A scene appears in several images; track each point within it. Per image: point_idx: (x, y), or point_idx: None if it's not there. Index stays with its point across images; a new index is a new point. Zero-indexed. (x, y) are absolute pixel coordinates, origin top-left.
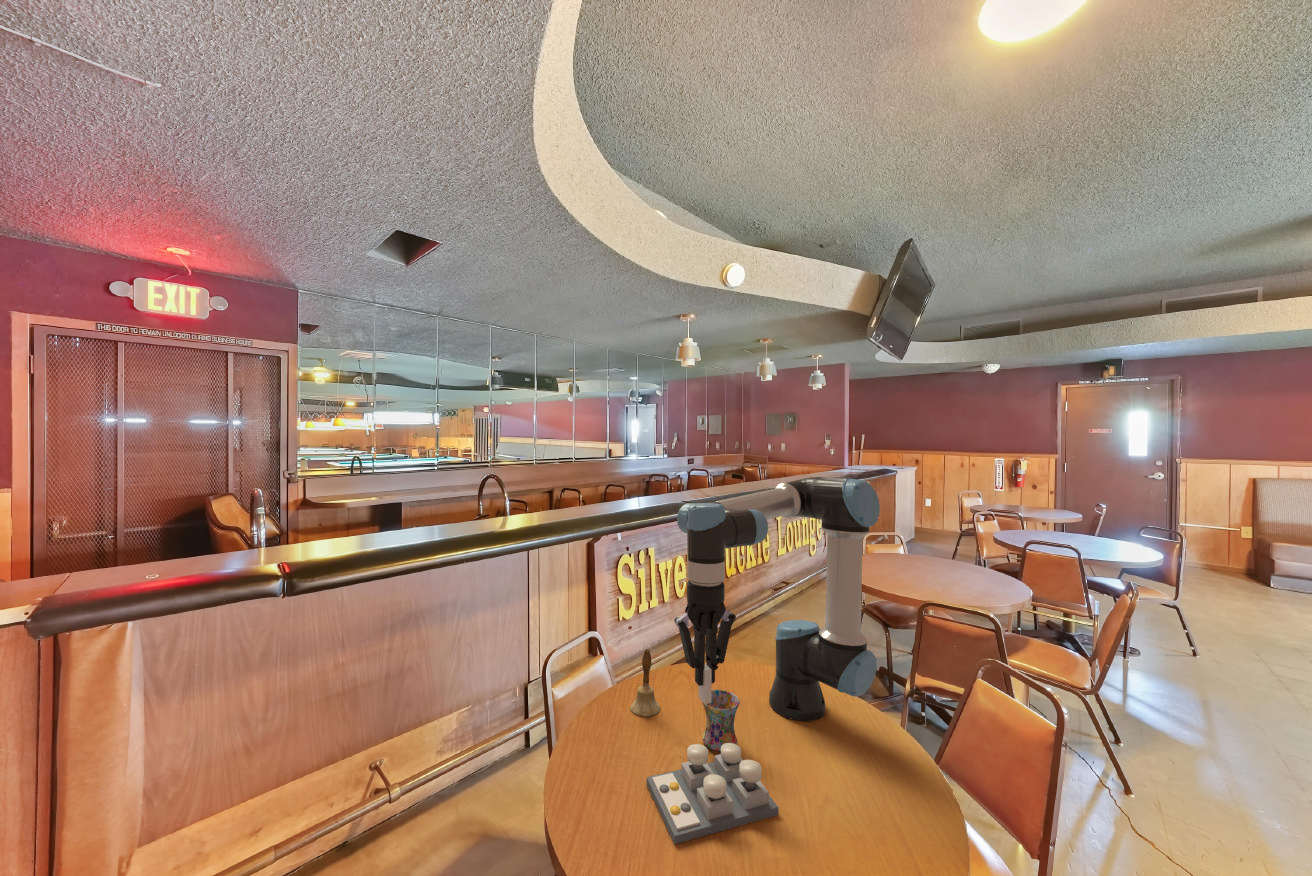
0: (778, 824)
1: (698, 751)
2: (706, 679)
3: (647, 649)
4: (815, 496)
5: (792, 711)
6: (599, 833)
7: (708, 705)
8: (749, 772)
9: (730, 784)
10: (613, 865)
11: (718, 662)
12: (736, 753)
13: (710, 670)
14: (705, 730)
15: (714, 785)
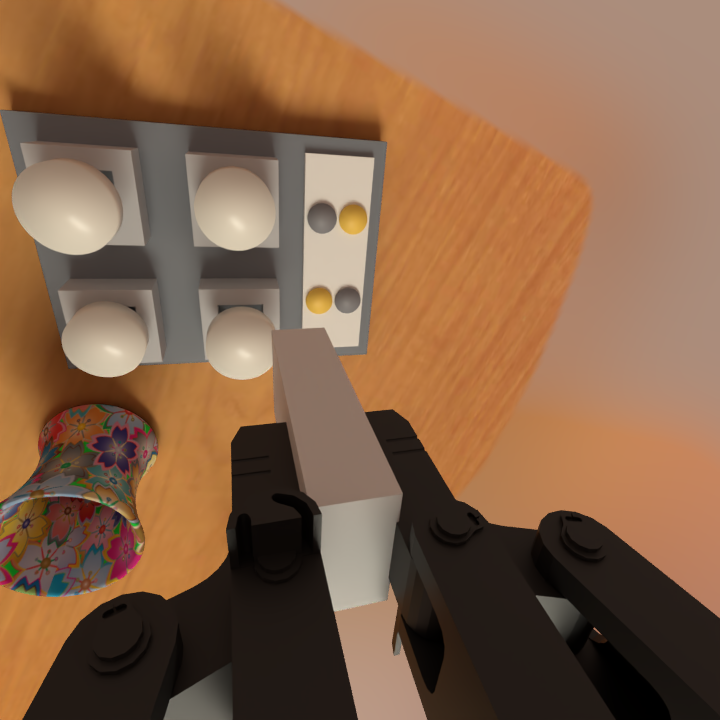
0: (30, 70)
1: (242, 344)
2: (353, 427)
3: None
4: None
5: None
6: (511, 240)
7: (112, 539)
8: (84, 180)
9: (145, 264)
10: (525, 144)
11: (174, 614)
12: (90, 319)
13: (322, 497)
14: (143, 473)
15: (244, 196)
